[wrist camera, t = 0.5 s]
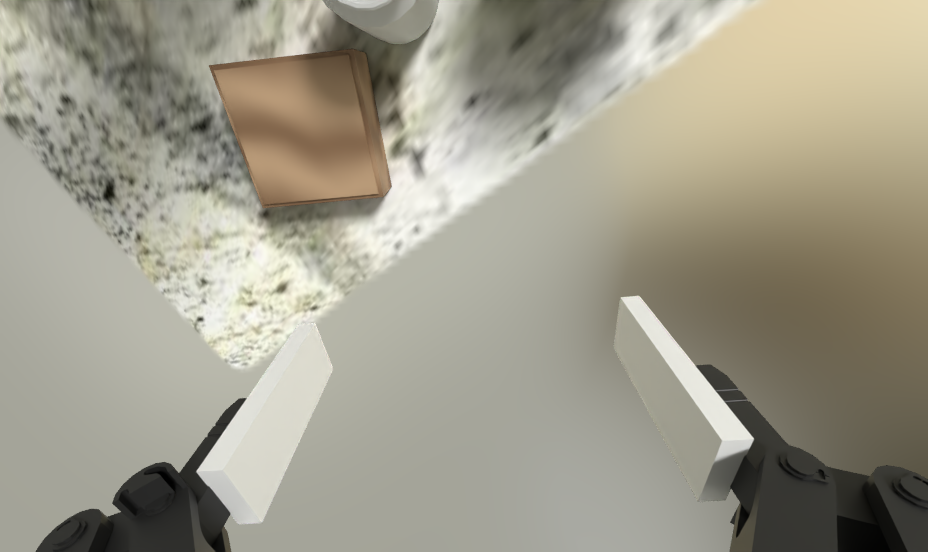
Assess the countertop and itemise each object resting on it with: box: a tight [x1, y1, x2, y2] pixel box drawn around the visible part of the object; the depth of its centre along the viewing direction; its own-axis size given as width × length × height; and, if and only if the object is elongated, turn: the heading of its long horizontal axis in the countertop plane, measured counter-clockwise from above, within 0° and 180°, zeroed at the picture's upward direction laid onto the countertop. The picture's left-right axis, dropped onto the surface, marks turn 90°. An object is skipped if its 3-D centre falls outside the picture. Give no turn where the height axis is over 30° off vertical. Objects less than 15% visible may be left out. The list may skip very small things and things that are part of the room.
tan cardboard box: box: [209, 49, 392, 208], centre depth 33 cm, size 12×12×4 cm
